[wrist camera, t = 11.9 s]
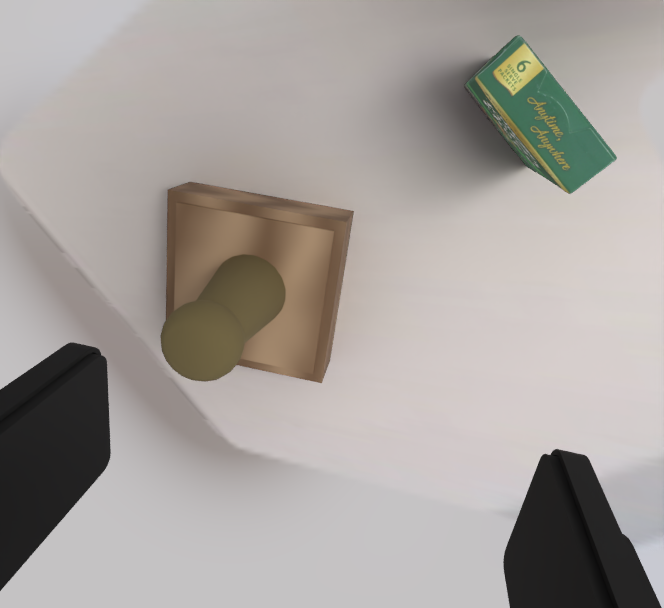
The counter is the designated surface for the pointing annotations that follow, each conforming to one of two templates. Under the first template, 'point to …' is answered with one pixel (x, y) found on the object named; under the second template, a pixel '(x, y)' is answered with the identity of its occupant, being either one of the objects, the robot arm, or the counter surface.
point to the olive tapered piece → (223, 318)
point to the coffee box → (538, 117)
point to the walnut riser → (275, 247)
